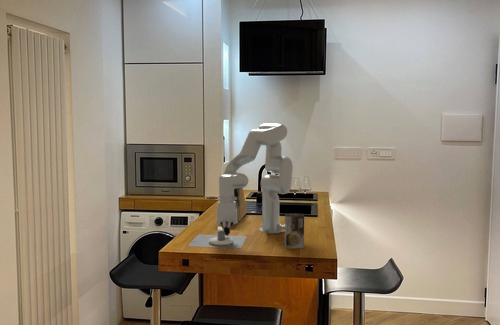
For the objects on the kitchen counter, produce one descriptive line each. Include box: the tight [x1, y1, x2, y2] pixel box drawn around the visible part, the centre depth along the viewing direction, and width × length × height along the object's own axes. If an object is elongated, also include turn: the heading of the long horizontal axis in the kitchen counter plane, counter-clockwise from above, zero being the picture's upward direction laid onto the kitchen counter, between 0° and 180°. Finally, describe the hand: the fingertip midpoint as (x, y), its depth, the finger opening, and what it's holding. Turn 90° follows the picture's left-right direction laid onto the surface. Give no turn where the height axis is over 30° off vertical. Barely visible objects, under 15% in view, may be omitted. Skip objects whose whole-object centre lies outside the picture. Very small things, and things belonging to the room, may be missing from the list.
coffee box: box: [284, 213, 305, 249], centre depth 250 cm, size 9×6×16 cm
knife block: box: [234, 188, 248, 222], centre depth 316 cm, size 11×35×31 cm, turn 171°
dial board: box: [187, 234, 248, 249], centre depth 255 cm, size 26×24×2 cm
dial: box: [209, 226, 233, 245], centre depth 254 cm, size 18×12×5 cm, turn 8°
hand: (227, 234), depth 257 cm, fingers closed
